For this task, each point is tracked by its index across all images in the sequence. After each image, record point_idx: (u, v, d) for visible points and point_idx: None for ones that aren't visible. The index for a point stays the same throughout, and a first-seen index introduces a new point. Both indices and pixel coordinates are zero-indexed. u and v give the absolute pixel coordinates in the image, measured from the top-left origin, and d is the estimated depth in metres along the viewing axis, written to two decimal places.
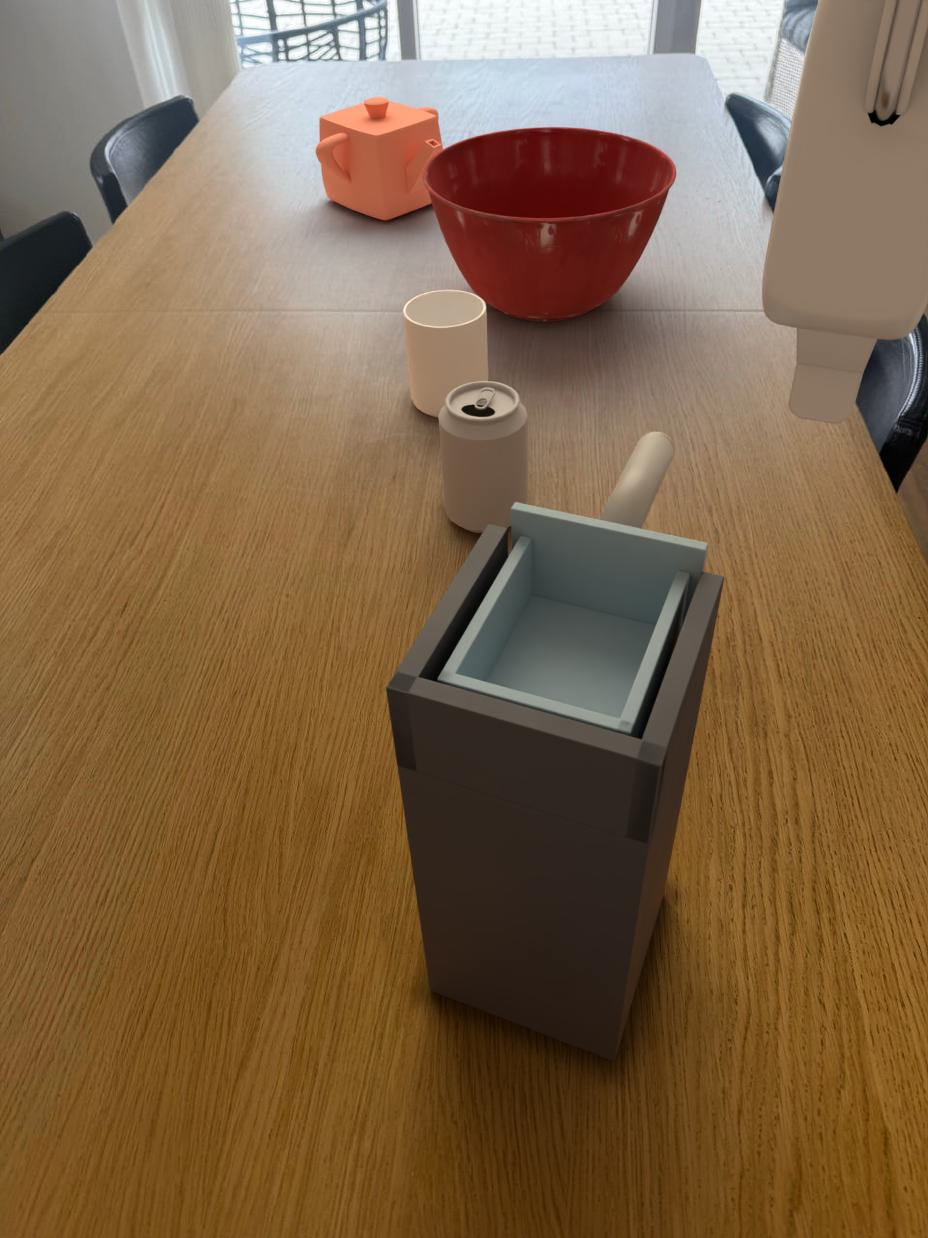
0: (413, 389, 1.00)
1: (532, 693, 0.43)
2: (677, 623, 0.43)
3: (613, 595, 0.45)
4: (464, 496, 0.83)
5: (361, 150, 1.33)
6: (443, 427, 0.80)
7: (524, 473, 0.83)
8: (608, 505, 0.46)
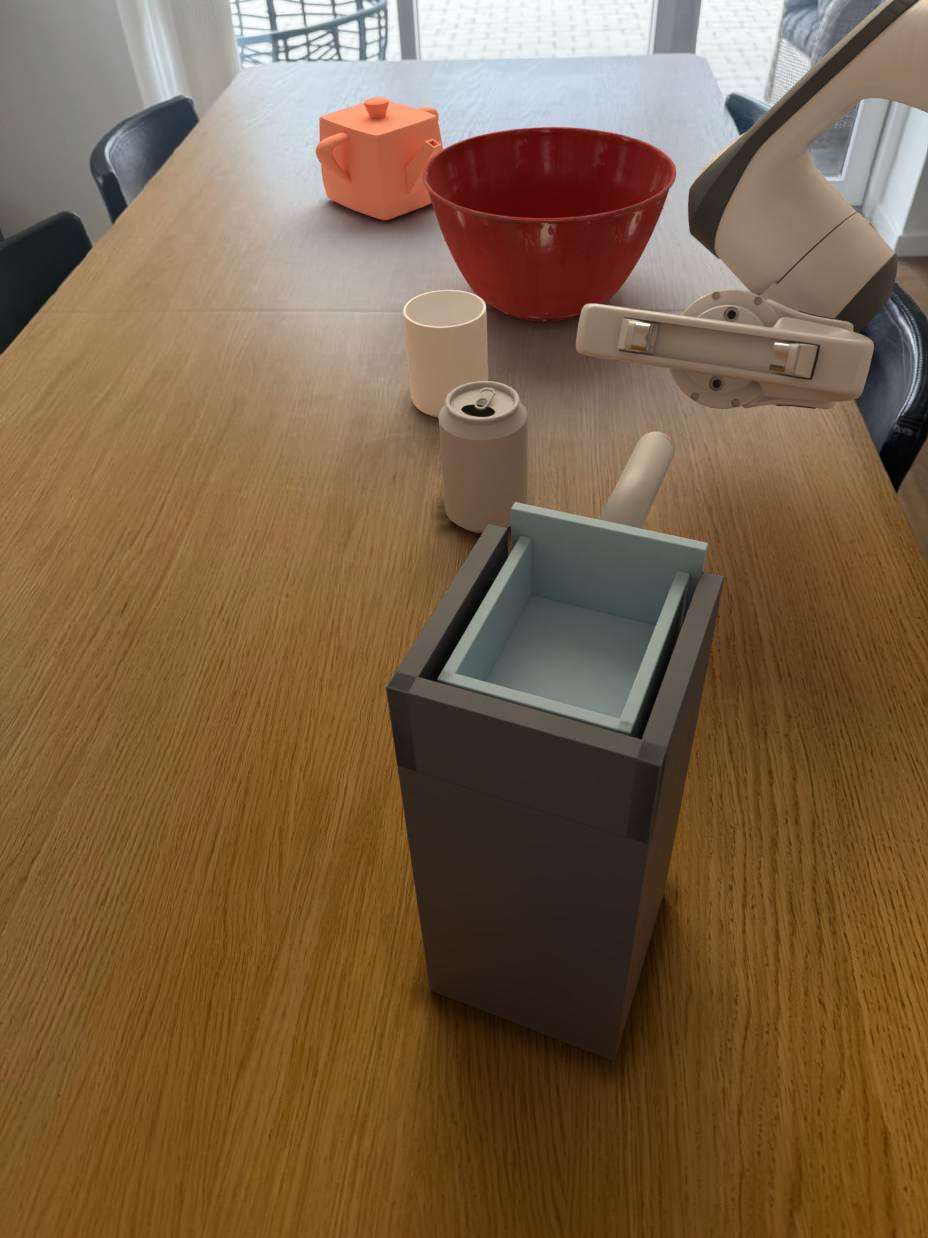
0: (413, 389, 1.00)
1: (532, 693, 0.43)
2: (677, 623, 0.43)
3: (613, 595, 0.45)
4: (464, 496, 0.83)
5: (361, 150, 1.33)
6: (443, 427, 0.80)
7: (524, 473, 0.83)
8: (608, 505, 0.46)
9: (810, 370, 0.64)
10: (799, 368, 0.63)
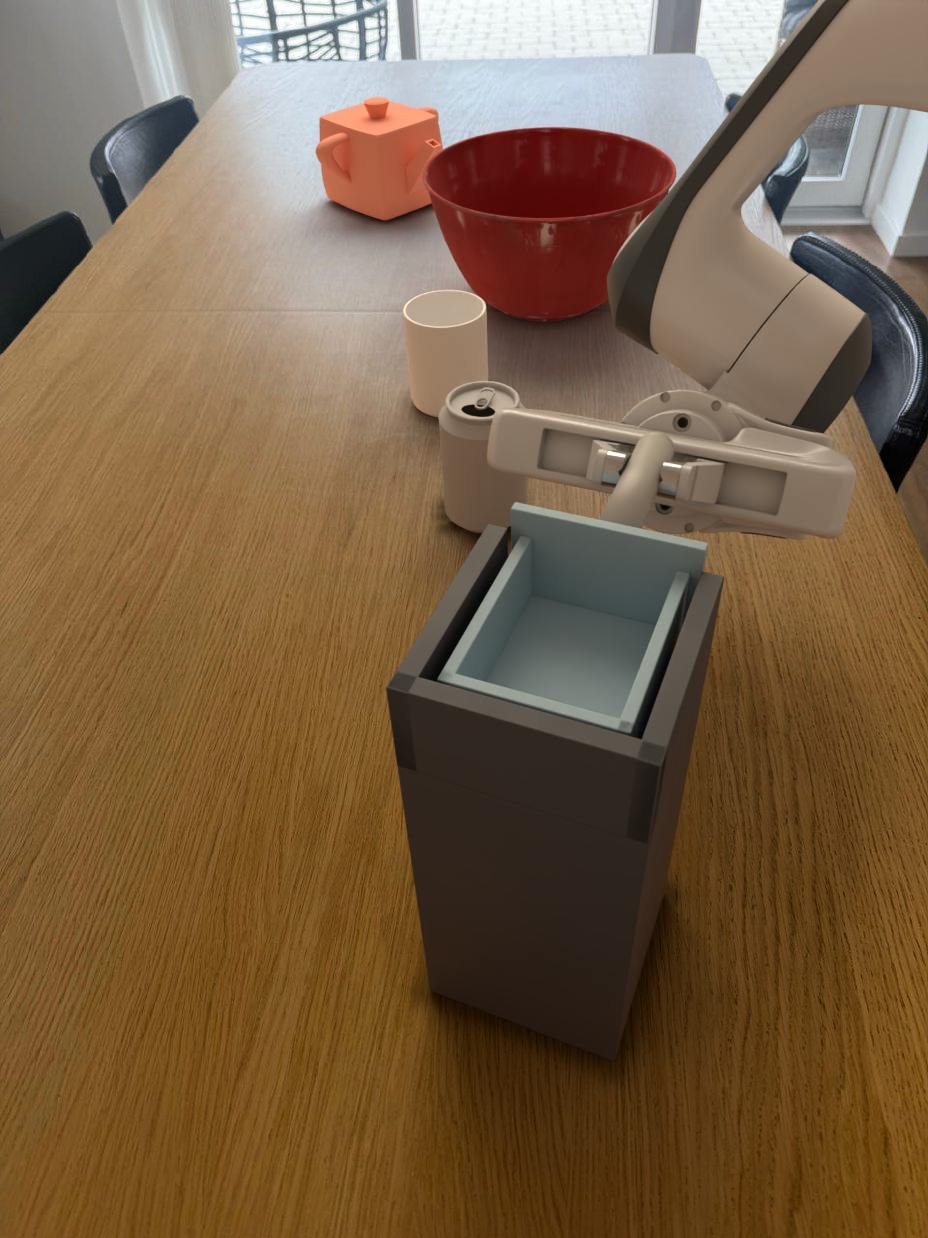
0: (413, 389, 1.00)
1: (532, 693, 0.43)
2: (677, 623, 0.43)
3: (613, 595, 0.45)
4: (464, 496, 0.83)
5: (361, 150, 1.33)
6: (443, 427, 0.80)
7: None
8: (608, 505, 0.46)
9: (714, 494, 0.50)
10: (698, 493, 0.49)
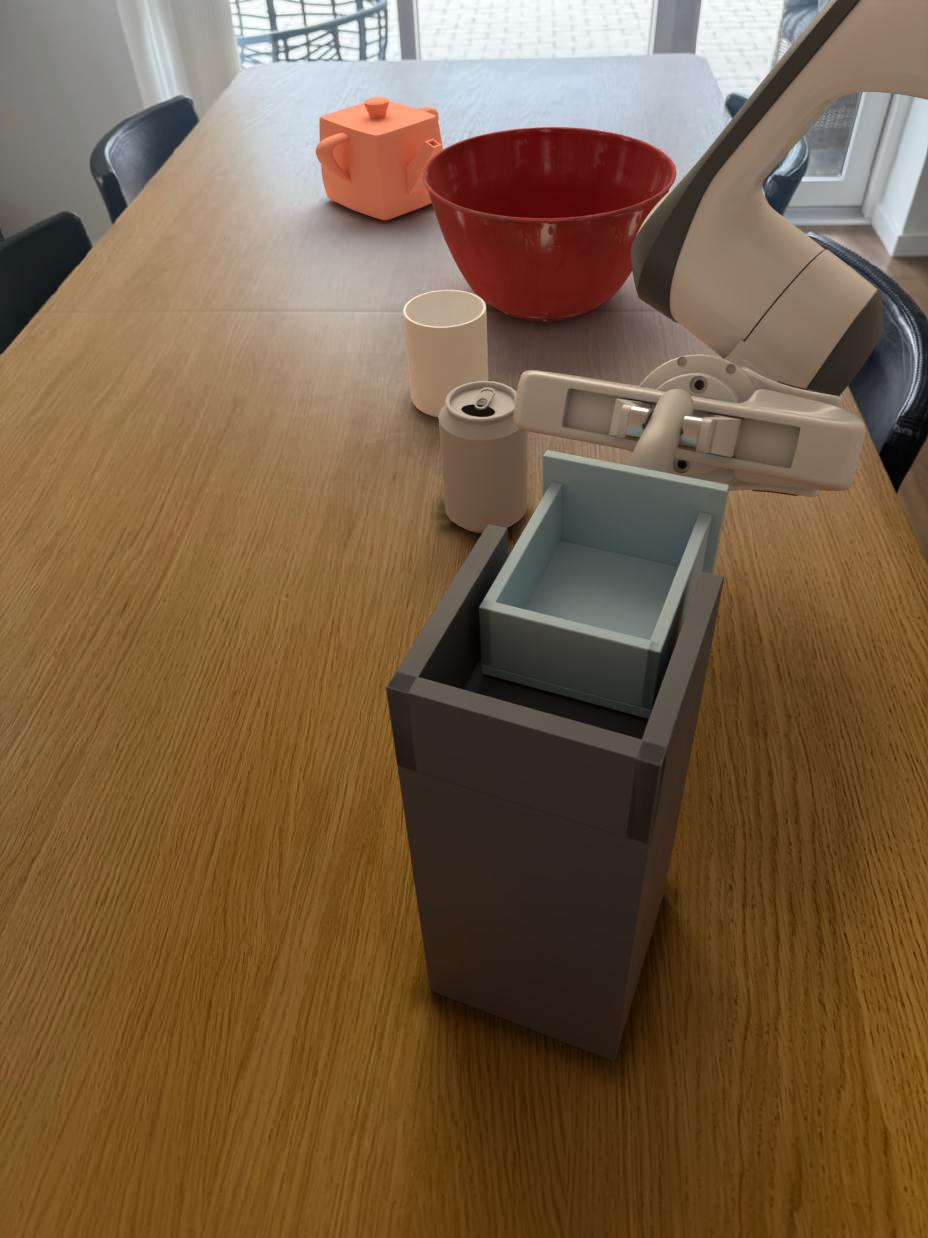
0: (413, 389, 1.00)
1: None
2: (700, 561, 0.46)
3: (638, 538, 0.48)
4: (464, 496, 0.83)
5: (361, 150, 1.33)
6: (443, 426, 0.80)
7: (524, 472, 0.83)
8: (633, 454, 0.49)
9: (731, 448, 0.53)
10: (716, 446, 0.52)
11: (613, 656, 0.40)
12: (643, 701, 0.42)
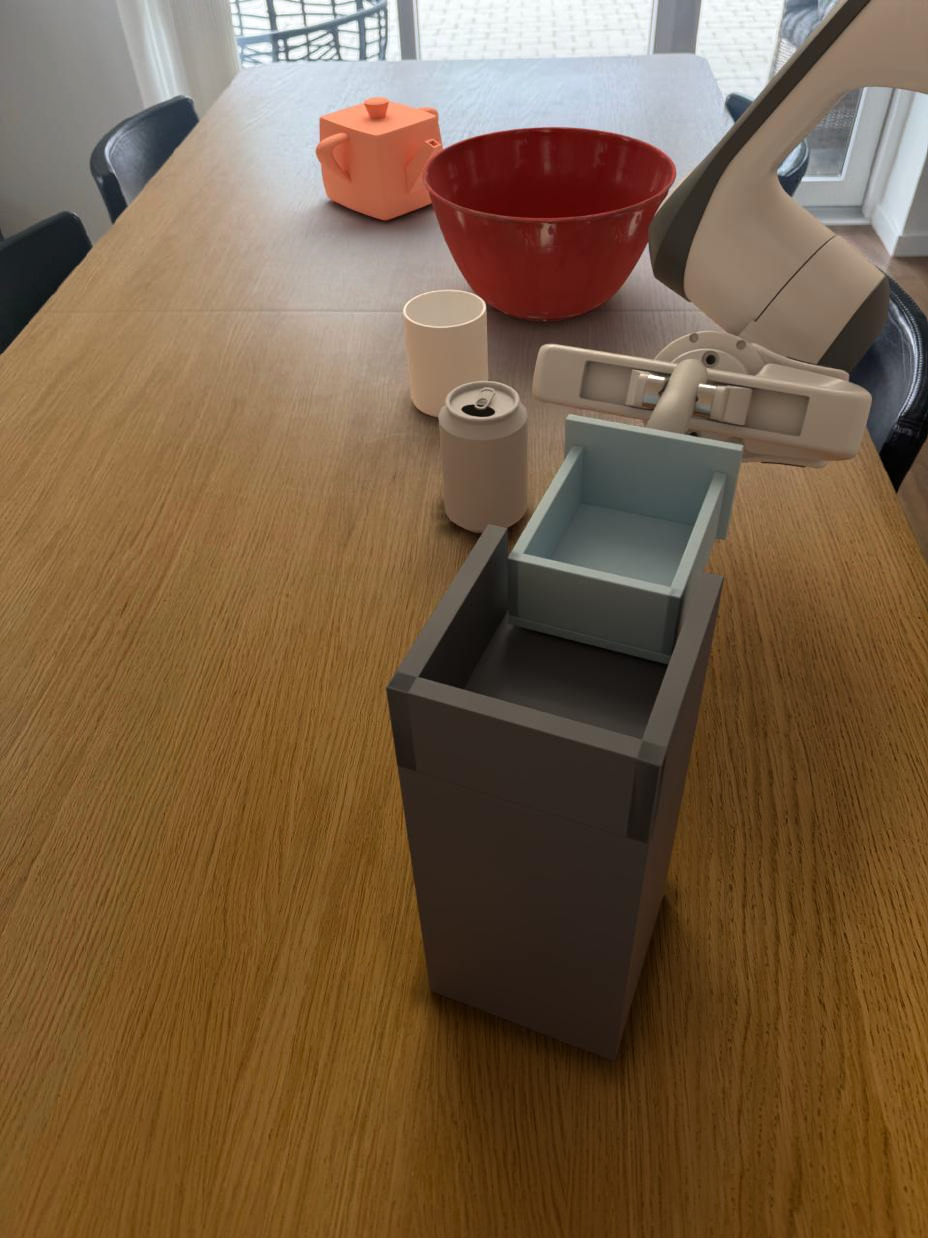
0: (413, 389, 1.00)
1: None
2: (715, 518, 0.48)
3: (656, 498, 0.51)
4: (464, 496, 0.83)
5: (361, 150, 1.33)
6: (443, 426, 0.80)
7: (524, 472, 0.83)
8: (651, 419, 0.51)
9: (743, 416, 0.56)
10: (729, 414, 0.55)
11: (635, 603, 0.43)
12: (663, 647, 0.44)
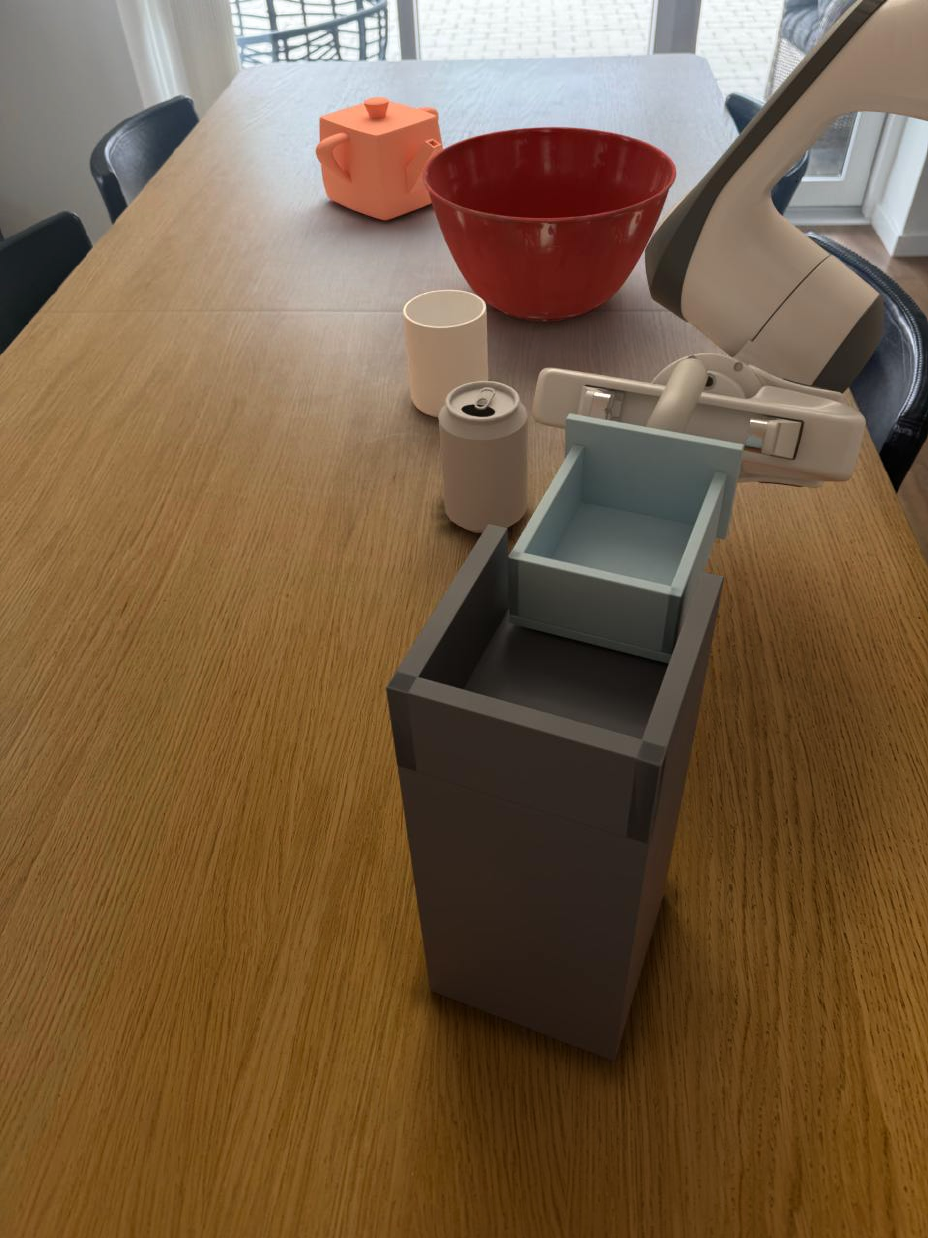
0: (413, 389, 1.00)
1: None
2: (716, 517, 0.48)
3: (656, 498, 0.51)
4: (464, 496, 0.83)
5: (361, 150, 1.33)
6: (443, 426, 0.80)
7: (524, 472, 0.83)
8: (651, 418, 0.52)
9: (792, 450, 0.56)
10: (779, 448, 0.55)
11: (636, 602, 0.43)
12: (663, 646, 0.44)
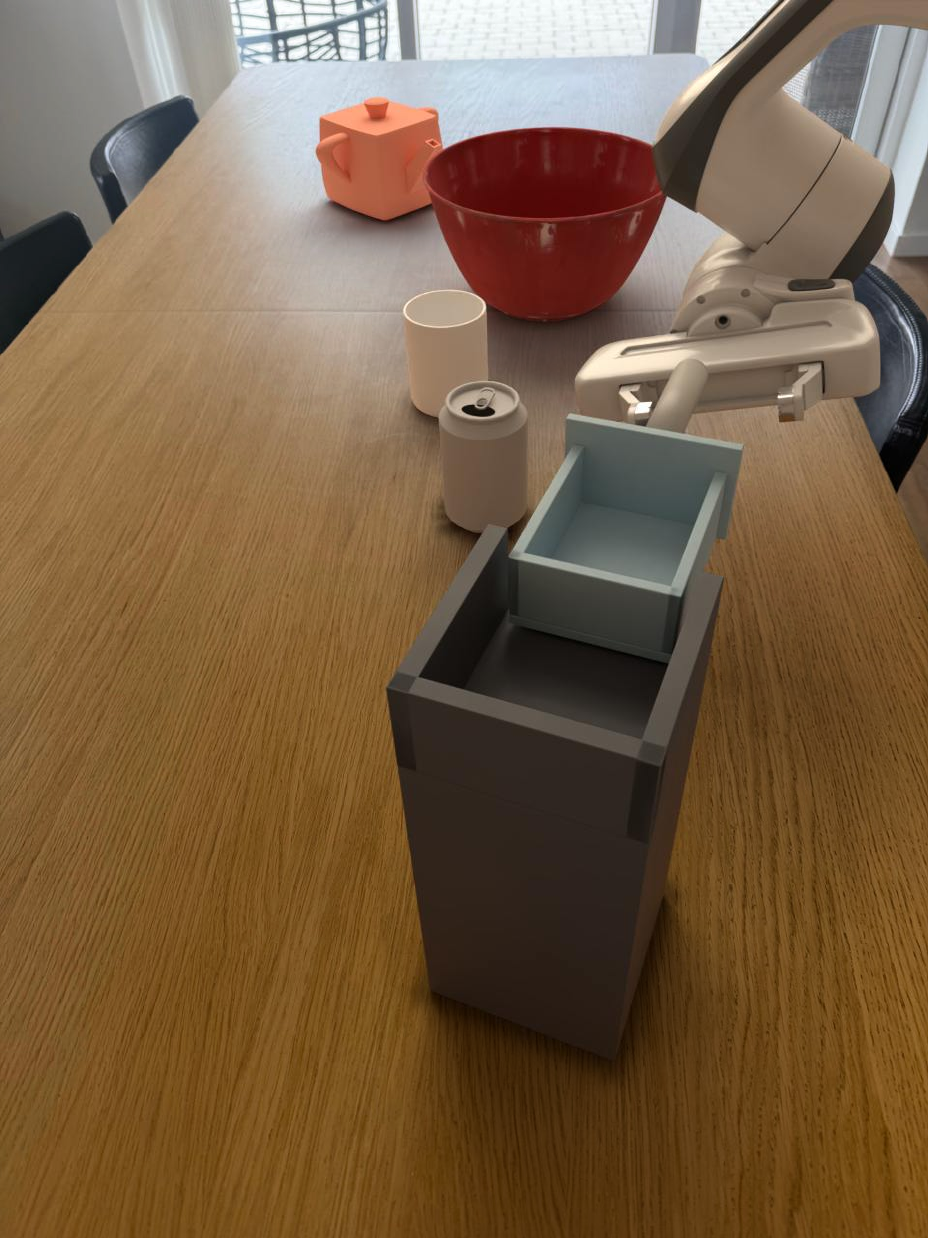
0: (413, 389, 1.00)
1: None
2: (716, 517, 0.48)
3: (656, 498, 0.51)
4: (465, 496, 0.83)
5: (361, 150, 1.33)
6: (443, 426, 0.80)
7: (524, 472, 0.83)
8: (651, 418, 0.52)
9: (820, 393, 0.62)
10: (809, 402, 0.62)
11: (636, 602, 0.43)
12: (663, 646, 0.44)
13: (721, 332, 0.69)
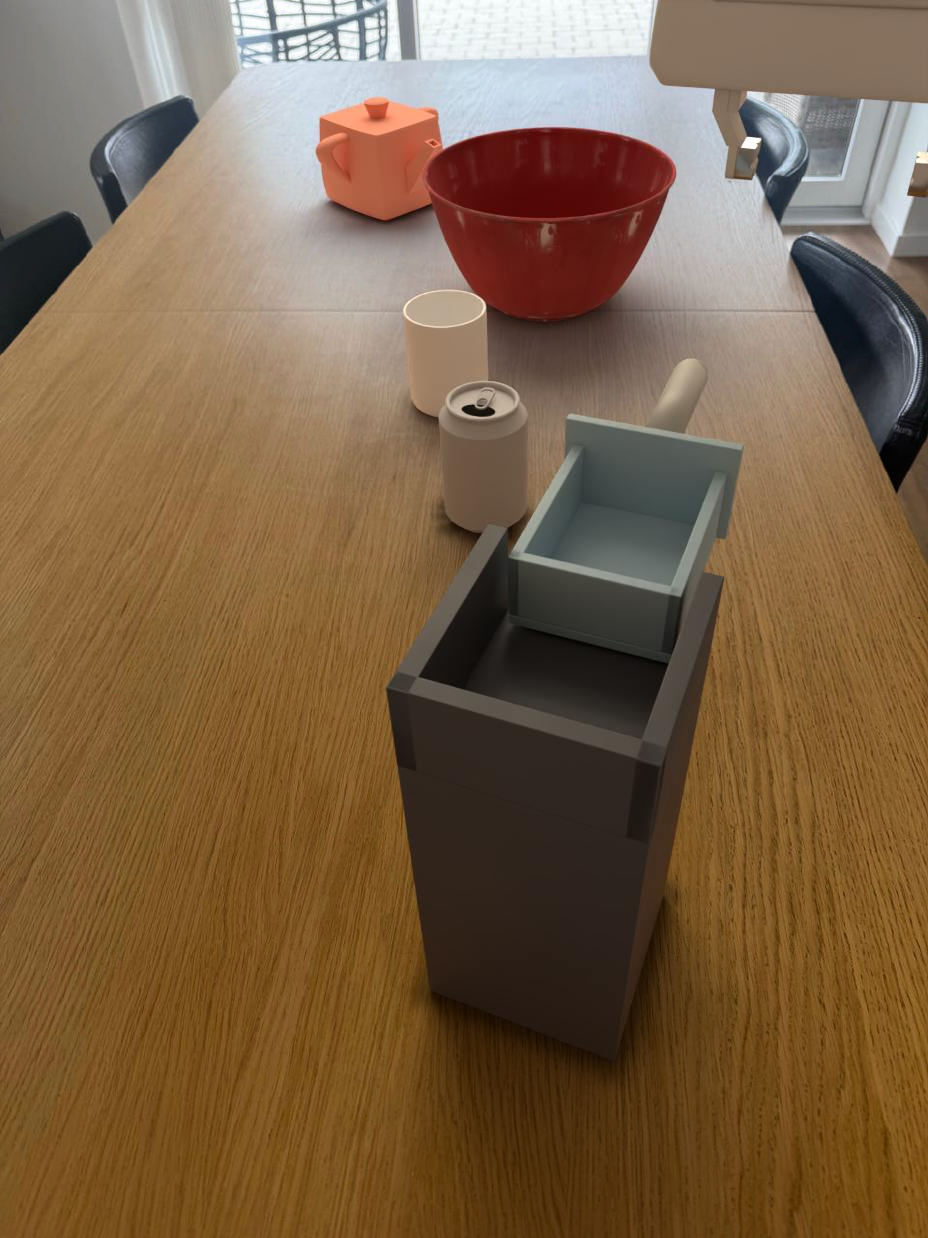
0: (413, 389, 1.00)
1: None
2: (716, 517, 0.48)
3: (656, 498, 0.51)
4: (465, 496, 0.83)
5: (361, 150, 1.33)
6: (443, 426, 0.80)
7: (524, 472, 0.83)
8: (651, 418, 0.52)
9: None
10: None
11: (636, 602, 0.43)
12: (663, 646, 0.44)
13: None
